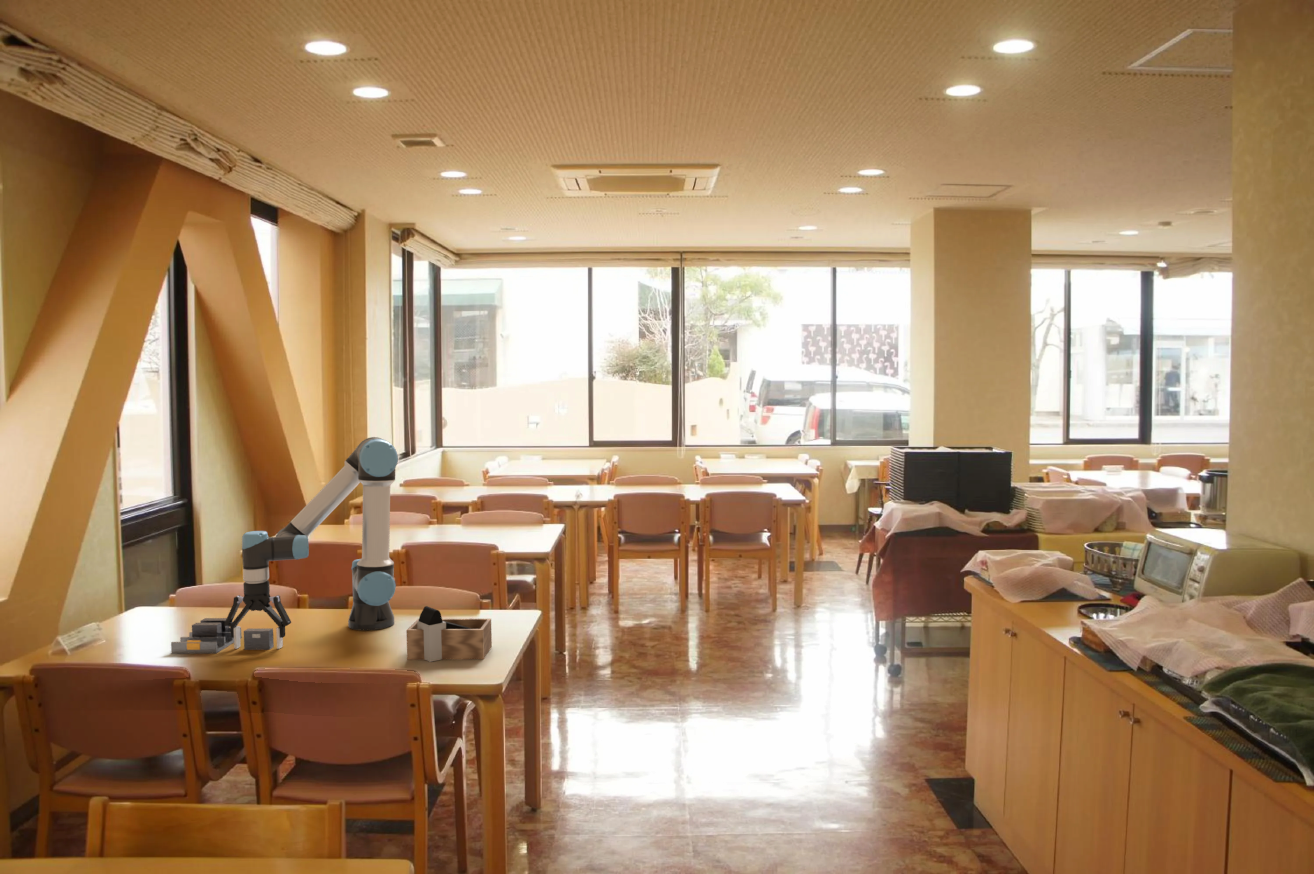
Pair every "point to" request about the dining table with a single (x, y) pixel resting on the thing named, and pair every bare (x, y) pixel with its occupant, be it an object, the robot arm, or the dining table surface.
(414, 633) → the open wooden box
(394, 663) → the dining table surface
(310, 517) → the robot arm
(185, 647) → the rack
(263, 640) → the gray labeled box
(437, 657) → the decorative object
